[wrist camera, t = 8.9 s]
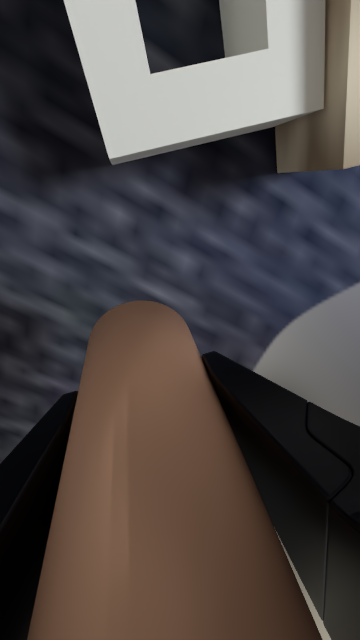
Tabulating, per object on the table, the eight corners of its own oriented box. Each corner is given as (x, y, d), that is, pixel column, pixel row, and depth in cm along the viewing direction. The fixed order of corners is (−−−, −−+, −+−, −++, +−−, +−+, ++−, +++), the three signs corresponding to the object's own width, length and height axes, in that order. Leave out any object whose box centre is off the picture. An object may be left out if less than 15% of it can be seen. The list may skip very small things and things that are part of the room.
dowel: (200, 371, 11) (334, 710, 4) (109, 399, 11) (86, 802, 4) (178, 287, 9) (342, 620, 2) (70, 319, 9) (-96, 776, 2)
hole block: (272, 127, 14) (323, 108, 10) (112, 165, 13) (109, 159, 10) (258, -133, 10) (330, -297, 7) (37, -96, 10) (-10, -254, 6)
